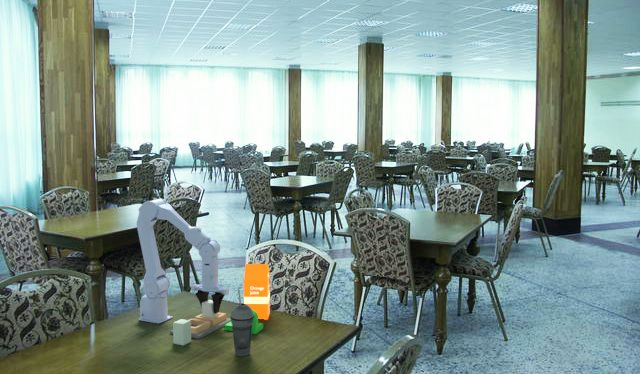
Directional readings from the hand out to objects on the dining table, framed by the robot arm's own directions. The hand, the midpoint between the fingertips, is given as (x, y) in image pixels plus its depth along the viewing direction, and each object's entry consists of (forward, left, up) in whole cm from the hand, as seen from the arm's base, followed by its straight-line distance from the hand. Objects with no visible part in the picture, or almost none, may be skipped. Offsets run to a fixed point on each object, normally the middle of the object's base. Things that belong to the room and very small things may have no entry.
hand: (210, 311), depth 207 cm
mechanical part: (+14, 0, -5) cm, 15 cm away
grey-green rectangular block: (0, 0, -3) cm, 3 cm away
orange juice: (+11, +14, -4) cm, 18 cm away
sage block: (+3, -20, -4) cm, 21 cm away
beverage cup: (+26, -20, -4) cm, 33 cm away
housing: (0, -5, -4) cm, 7 cm away
